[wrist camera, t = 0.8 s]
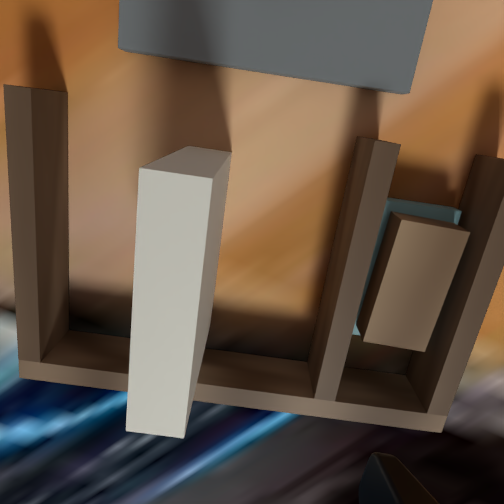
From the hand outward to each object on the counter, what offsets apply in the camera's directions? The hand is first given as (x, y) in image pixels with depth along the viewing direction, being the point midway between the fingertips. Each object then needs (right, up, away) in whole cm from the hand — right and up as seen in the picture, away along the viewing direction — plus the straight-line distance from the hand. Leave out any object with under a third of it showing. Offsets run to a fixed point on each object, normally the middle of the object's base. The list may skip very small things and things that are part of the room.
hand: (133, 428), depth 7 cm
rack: (+3, +3, +13) cm, 13 cm away
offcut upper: (+9, +2, +12) cm, 15 cm away
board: (0, +4, +13) cm, 13 cm away
